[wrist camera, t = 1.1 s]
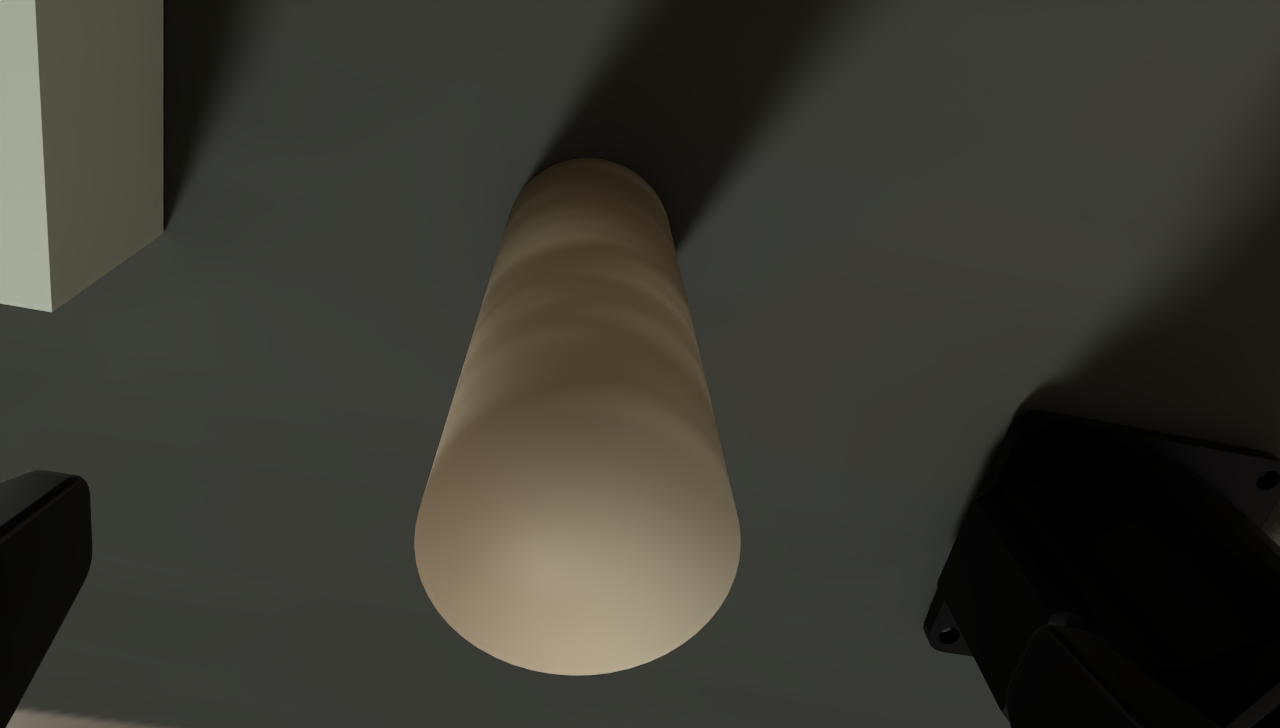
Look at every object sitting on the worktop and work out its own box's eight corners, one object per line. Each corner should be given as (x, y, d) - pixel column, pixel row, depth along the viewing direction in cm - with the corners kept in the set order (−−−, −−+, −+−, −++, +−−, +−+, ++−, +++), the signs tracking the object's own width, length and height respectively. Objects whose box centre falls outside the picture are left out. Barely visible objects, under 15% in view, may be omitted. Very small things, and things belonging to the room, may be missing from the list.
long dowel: (687, 176, 18) (779, 441, 9) (650, 327, 19) (698, 693, 10) (520, 142, 17) (434, 380, 8) (495, 299, 19) (397, 653, 10)
